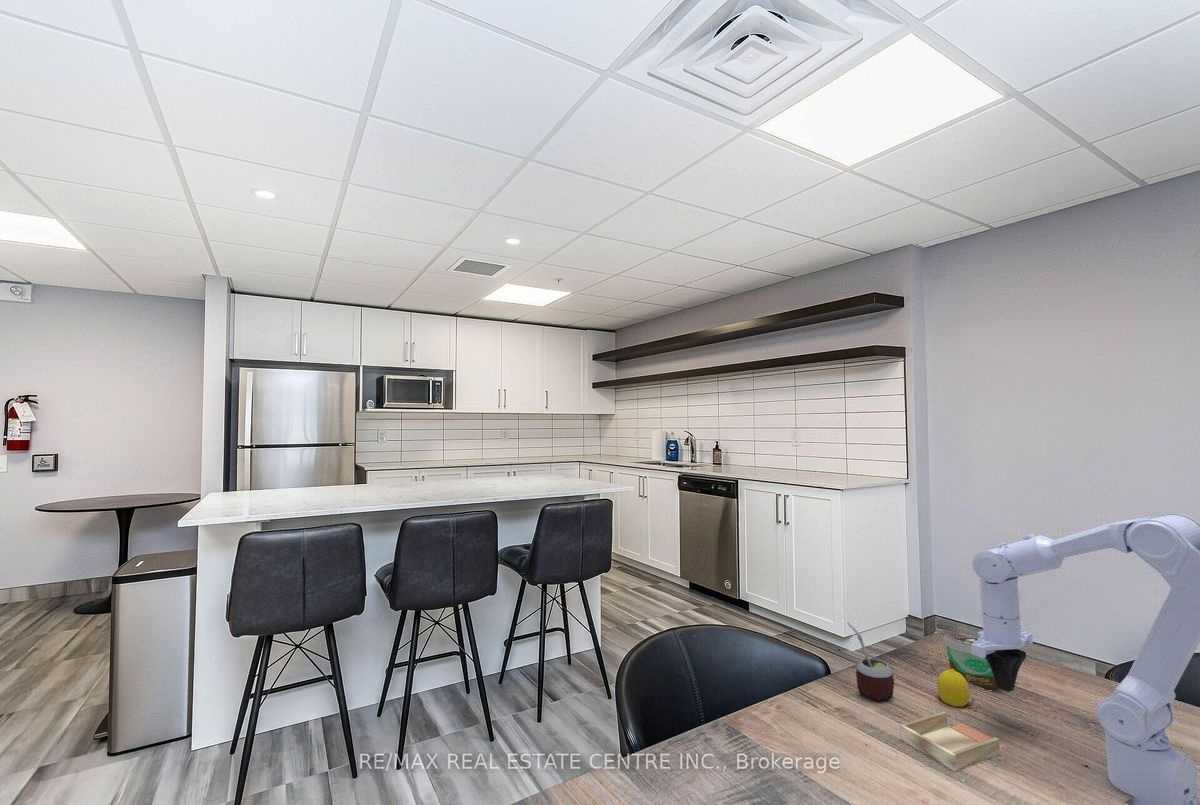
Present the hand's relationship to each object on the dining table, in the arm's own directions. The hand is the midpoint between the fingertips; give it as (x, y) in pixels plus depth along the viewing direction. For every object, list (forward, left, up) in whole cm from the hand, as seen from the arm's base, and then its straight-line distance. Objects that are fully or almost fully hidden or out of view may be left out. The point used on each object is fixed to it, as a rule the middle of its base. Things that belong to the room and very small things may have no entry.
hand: (1005, 688), depth 101 cm
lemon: (+11, -1, -9) cm, 14 cm away
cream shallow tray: (+1, +14, -9) cm, 17 cm away
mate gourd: (+20, +11, -9) cm, 24 cm away
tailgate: (+1, +9, -7) cm, 11 cm away
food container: (+15, -15, -9) cm, 23 cm away
